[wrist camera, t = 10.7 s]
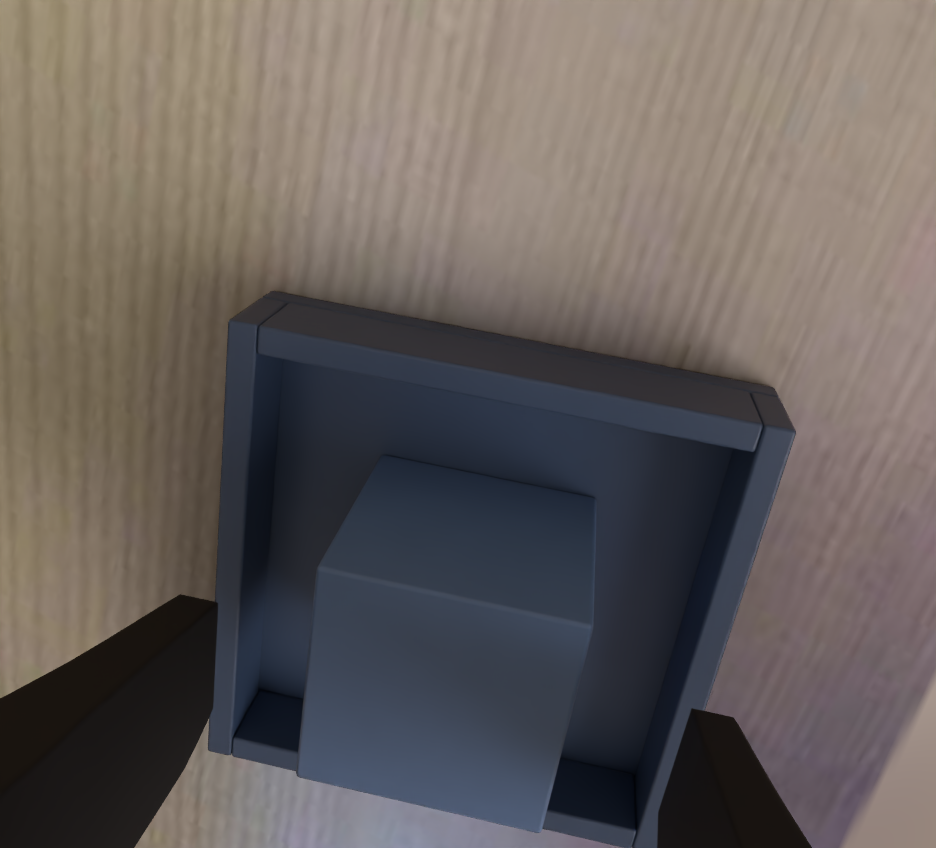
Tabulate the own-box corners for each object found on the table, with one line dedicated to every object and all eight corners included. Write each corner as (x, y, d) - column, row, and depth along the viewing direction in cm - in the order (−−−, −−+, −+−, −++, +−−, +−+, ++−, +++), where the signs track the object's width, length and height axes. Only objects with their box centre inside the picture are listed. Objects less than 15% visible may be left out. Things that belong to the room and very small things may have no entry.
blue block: (597, 496, 16) (594, 627, 12) (555, 673, 18) (540, 836, 14) (381, 452, 16) (315, 567, 13) (358, 630, 18) (294, 778, 14)
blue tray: (775, 386, 15) (797, 431, 13) (652, 779, 19) (657, 856, 17) (270, 289, 16) (227, 319, 14) (244, 686, 20) (206, 751, 18)
